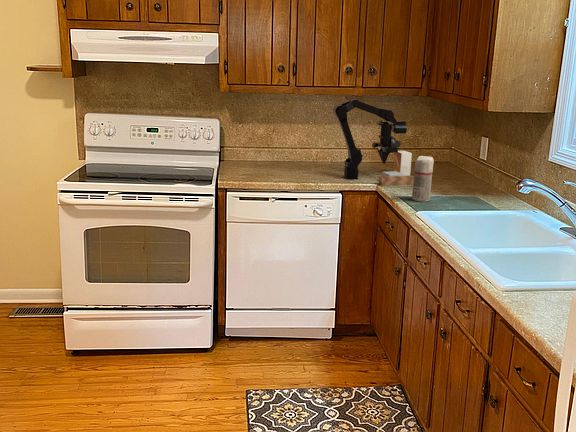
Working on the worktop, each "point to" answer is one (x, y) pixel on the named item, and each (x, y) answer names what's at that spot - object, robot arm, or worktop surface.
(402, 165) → the small box
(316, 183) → the worktop surface
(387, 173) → the block
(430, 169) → the spray can
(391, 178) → the board
